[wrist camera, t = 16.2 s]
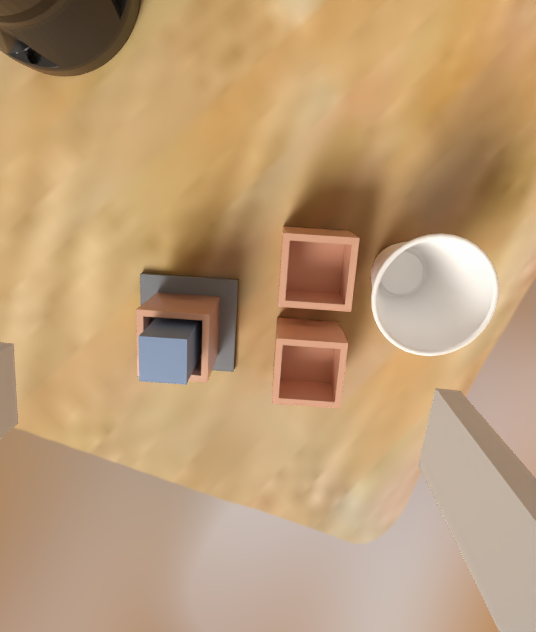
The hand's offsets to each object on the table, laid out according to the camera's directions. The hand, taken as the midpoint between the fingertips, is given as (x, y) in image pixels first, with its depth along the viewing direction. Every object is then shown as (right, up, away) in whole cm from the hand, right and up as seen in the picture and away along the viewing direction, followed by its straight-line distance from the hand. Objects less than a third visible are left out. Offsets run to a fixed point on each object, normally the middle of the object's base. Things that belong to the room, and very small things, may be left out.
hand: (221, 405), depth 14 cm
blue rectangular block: (-7, +1, +31) cm, 32 cm away
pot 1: (-7, +2, +34) cm, 35 cm away
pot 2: (+6, +8, +32) cm, 34 cm away
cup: (+15, +7, +32) cm, 36 cm away
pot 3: (+6, -1, +35) cm, 35 cm away
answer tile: (-7, +2, +34) cm, 35 cm away
